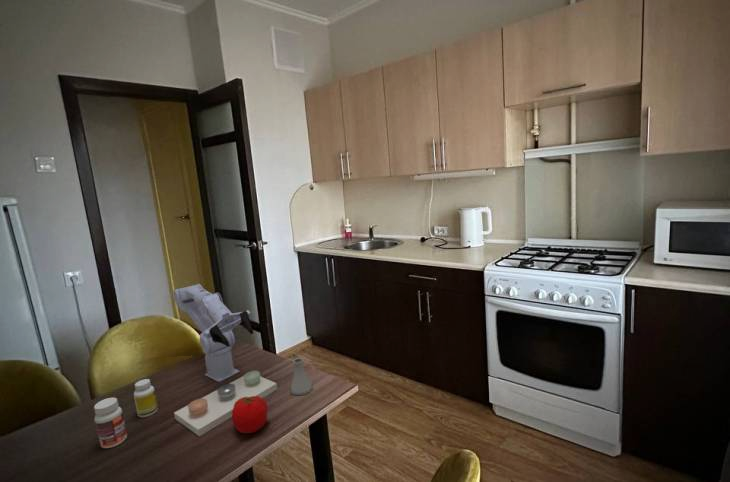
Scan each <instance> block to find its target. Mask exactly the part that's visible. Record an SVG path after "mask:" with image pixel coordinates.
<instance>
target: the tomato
mask: <svg viewBox="0 0 730 482" xmlns="http://www.w3.org/2000/svg"><path fill="white" fill-rule="evenodd" d="M268 409H269V407H268V404H267V402H266V400H264V398H260V397H259V396H252V397H243V398H242V397H241V399H239V400H237V401H236V402H235V404H234V407H233V410H232V417H231V421H232V423H233V424H232V425H233V426H234V427H235V429H236V430H237V431H238V432H239V433H241V434H251V433H255V432H257V431H259V430H260V429H261V428H263V426H264V425H265V423H266V421H267V417H268V416H267V415H268Z"/></svg>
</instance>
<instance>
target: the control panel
mask: <svg viewBox="0 0 730 482" xmlns="http://www.w3.org/2000/svg"><path fill="white" fill-rule="evenodd" d="M228 384H234V385H235V390H236V392H235V394H234V395H232V396H230V397H228V398H219V397H218V391H217V390H218V389H216V390H215V391H212V392H210V393H209V394H207V395H204V396H203V397H202V398H204V399H206V400H207V403H208V408H207V409H206V410H205V411H204V412H202V413H199V414H195V415H193V414H190V413H189V409H188V405H186V406H184V407H182V408H179V409H178V410H176V411H174V412H173V414H174V419H175V420H176V421H177V422H178V423H180V424H181V425H183V426H184V427H186V428H187V429H189V431H191V432H192V433H194V434H195V435H197V436H198V437H201V436H203V435H205V434H206V433H208V432H209V431H212V430H213V429H214V428H217V426H219V425H222V423H224V422H226V421H227V420H230V418H231V419H232V410H233V407H234V404H235V402H236V401H237V400H239V399H241V397H242V398H243V397H252V396H259V397H260V398H262V399H264V398H265V397H267V396H268V395H270V394H272V393H273V392H275V391H277V390H278V384H277V382H274V381H272V380H269V379H268V378H265V377H264V376H261V375H260V380H259V381H257V382H255V383H252V384H246V383H245V382H244V375H243V376H241V377H239V378H236V379H235V380H233V381H231V382H229V383H228Z"/></svg>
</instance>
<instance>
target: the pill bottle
mask: <svg viewBox="0 0 730 482" xmlns="http://www.w3.org/2000/svg"><path fill="white" fill-rule="evenodd" d="M93 408H94V414H95V416H94V424H95V427H96V433H97V435H98V436H97V437H98V439H99V445H100V447H101V448H102V449H109V448H111V449H112V448H115V447H116V446H118V445H121V444H122V443H123V442H124V441H125V440H126V439H127V437H128V431H127V427H126V423H125V419H124V413H123V410H122V408H121V407H120V406H119V402H118V398H116V397H107V398H105V399H102V400H100V401H98V402H96V404H95V405H94V407H93Z"/></svg>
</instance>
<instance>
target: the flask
mask: <svg viewBox="0 0 730 482" xmlns="http://www.w3.org/2000/svg"><path fill="white" fill-rule="evenodd" d="M303 363H304V358H303V357H296V358H294V359H293V360H292V364H293V365H294V369H293V376H292V381H291V384H290V385H291V386H290V395H294V396H302V395H307V394H309V393H310V392H311V391H312V390H313V383H312V381H311V379H310V378H309V376H308V374H307V372H306V370H305V368H304V364H303Z"/></svg>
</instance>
